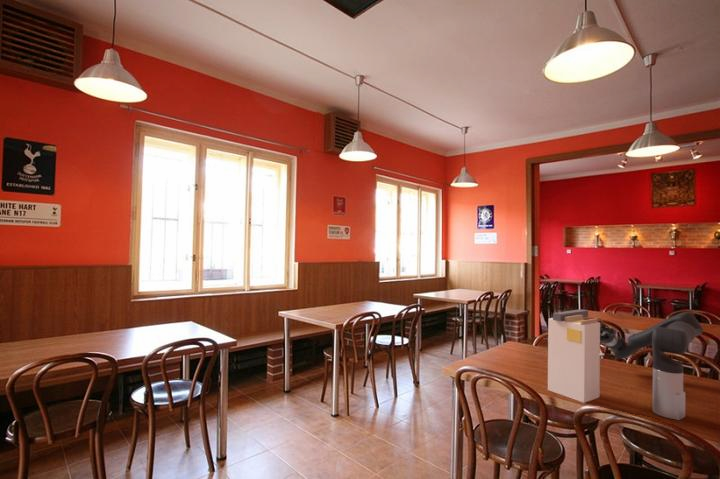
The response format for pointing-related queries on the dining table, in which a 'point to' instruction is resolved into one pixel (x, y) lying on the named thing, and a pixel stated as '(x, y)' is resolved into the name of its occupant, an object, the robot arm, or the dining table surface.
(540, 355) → the dining table surface
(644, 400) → the dining table surface
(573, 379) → the cream carton
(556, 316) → the dark gray bar
